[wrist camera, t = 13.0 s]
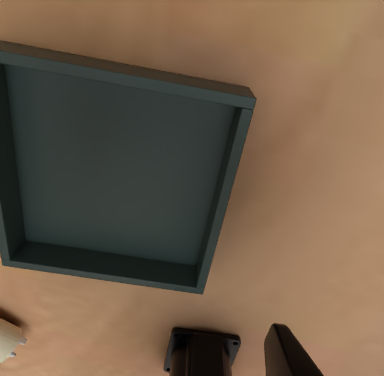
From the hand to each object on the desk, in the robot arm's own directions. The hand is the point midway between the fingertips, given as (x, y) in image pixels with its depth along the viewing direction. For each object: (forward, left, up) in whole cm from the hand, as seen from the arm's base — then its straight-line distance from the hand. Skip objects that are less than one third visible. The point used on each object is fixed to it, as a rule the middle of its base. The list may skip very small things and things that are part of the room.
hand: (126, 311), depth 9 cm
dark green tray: (-2, +3, -12) cm, 13 cm away
